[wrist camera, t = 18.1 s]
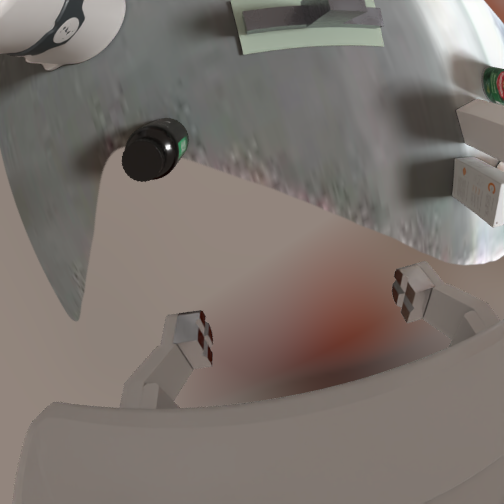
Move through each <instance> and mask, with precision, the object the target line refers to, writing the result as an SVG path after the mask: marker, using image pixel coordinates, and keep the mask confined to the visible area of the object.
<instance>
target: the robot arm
mask: <svg viewBox="0 0 504 504" xmlns="http://www.w3.org/2000/svg"><path fill="white" fill-rule="evenodd" d="M125 8H126V6H125V0H0V54H4V53H6V54H8V55H11V56H17V57H25V58H26V62H29V63H39V64H42V65H43V67H44V68H45V69H46V70H50V71H51V70H54V69H56V68H58V67H60V66H62V65H65V64H76V63H80V62H84V61H86V60H88V59H90V58H92V57H94V56H95V55H97V54H98V53H100V52H101V51H102V50H103V49H104V48H105V47H106V46H107V45H108V44H109V43H110V42H111V41H112V40H113V38H114V37H115V36H116V34H117V32H118V31H119V29H120V27H121V25H122V22H123V19H124V15H125ZM394 277H395V279H396V281H395V282H394V283H393V286H392V295H393V299H394V301H395V303H396V305H397V306H399V307H401V308H402V309H401V314H402V316H403V317H404V319H405V321H406V323H410V322H413V321H416V320H420V319H423V320H425V321H426V322H428V323H429V324H430V325H432V326H433V327H435V328H436V329H437V330H439V331H440V332H442V333H443V334H444V335H446V336H447V337H449V338H450V339H451V340H452V342H451V344H450V346H449V347H448V348H446V349H443V350H441V351H439V352H436V353H434V354H431V355H429V356H427V357H424V358H422V359H419V360H416V361H414V362H411V363H408V364H406V365H403V366H400V367H397V368H394V369H391V370H388V371H385V372H382V373H379V374H376V375H373V376H370V377H366V378H363V379H359V380H356V381H352V382H349V383H345V384H341V385H337V386H333V387H329V388H325V389H321V390H317V391H312V392H307V393H303V394H298V395H293V396H287V397H282V398H276V399H270V400H263V401H256V402H249V403H241V404H232V405H223V406H213V407H212V406H211V407H197V408H180V407H179V406H178V405H177V404H176V403H175V402H174V400H175V398H176V397H177V395H178V394H179V392H180V391H181V389H182V387H183V386H184V384H185V383H186V381H187V379H188V378H189V376H190V375H191V373H192V371H193V369H197V368H204V367H212V360H213V353H212V351H211V349H210V348H211V346H212V345H213V336H212V331H211V327H210V325H209V323H207V322H205V317H206V316H205V314H204V312H203V311H201V310H200V311H193V312H186V313H179V314H172V315H168V316H167V317H166V319H165V324H164V330H163V335H162V340H161V345H160V346H157V347H156V348H155V349H154V350H153V351H152V353H151V354H150V355H149V356H148V357H147V358H146V359H145V360H144V362H143V363H142V364H141V365H140V366H139V367H138V369H137V370H136V371H135V372H134V373H133V374H132V375H131V376H130V378H129V379H128V380H127V381H126V382H125V384H124V388H123V393H122V398H121V403H120V408H111V407H97V406H87V405H78V404H69V403H63V402H53V403H51V404H50V405H49V406H47V407H46V408H45V409H44V410H43V411H42V412H41V413H40V414H39V415H38V416H37V417H36V418H35V419H34V420H33V421H32V423H31V424H30V426H29V429H28V431H27V434H26V436H25V439H24V443H23V446H22V450H21V454H20V458H19V462H18V467H17V472H16V478H15V485H14V493H13V504H504V319H503V320H502V321H500V320H499V318H498V317H497V315H496V314H495V312H494V311H493V310H492V308H491V307H490V306H489V304H488V303H487V302H485V301H483V300H481V299H479V298H477V297H475V296H473V295H471V294H469V293H467V292H465V291H462V290H460V289H458V288H456V287H454V286H452V285H450V284H448V283H446V284H444V282H443V281H442V280H441V279H440V277H439V276H438V275H437V273H436V272H435V271H434V270H433V268H432V267H431V266H430V265H429V264H428V263H427V262H426V261H423V262H420V263H417V264H413V265H410V266H406V267H403V268H399V269H396V271H395V274H394Z"/></svg>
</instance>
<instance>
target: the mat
mask: <svg viewBox="0 0 504 504" xmlns="http://www.w3.org/2000/svg"><path fill="white" fill-rule="evenodd" d="M301 1H302V0H231V5H232V9H233V13H234V17H235V21H236V25H237V29H238V34H239V38H240V42H241V46H242V51H243V55H247V54H253V53H259V52H266V51H273V50H281V49H290V48H301V47H315V46H380V47H383V46H384V44H383V39H382V34H381V29H380V28H376V29H369V28H344V27H327V28H302V29H289V30H279V31H270V32H262V33H255V34H249V35H246V31H245V27H244V22H243V18H242V13H243V11H249V10H256V9H264V8H273V7H284V6H299V5H301V3H300V2H301ZM365 4H366V7H373V8H375V4H374V0H365Z"/></svg>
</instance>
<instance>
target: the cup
mask: <svg viewBox="0 0 504 504" xmlns="http://www.w3.org/2000/svg"><path fill="white" fill-rule="evenodd" d="M497 169H498V170H500V171H502V172H504V163H503V162H502V161H501V162H500V163H499V164H498V166H497Z"/></svg>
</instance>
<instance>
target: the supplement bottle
mask: <svg viewBox="0 0 504 504" xmlns="http://www.w3.org/2000/svg"><path fill="white" fill-rule="evenodd" d="M188 142H189V138H188V133H187V131H186V129H185V127H184V126H183V125H182V124H181V123H180V122H178V121H177V120H174V119H171V118H162V119H158V120H156V121H154V122H151V123H149V124H147V125H145V126H143V127H141V128H139V129H138V130H136V131H135V132H134V133H133V134H132V135H131V136H130V137H129V139H128V141H127V143H126V147H125V151H124V152H123V156H122V166H123V169H124V170H125V172H126V173H127V175H128V176H130V178H132V179H134V180H137V181H141V182H143V181H145V182H146V181H149V180H155V179H159V178H162V177H164V176H166V175H167V174H169V173H170V172H171V171H172V170H173V168H174V167H175V166H176V164H177V163H178V161H179V160H180V159H181V157H182V156H183V155H184V153H185V151H186V150H187V147H188Z"/></svg>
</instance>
